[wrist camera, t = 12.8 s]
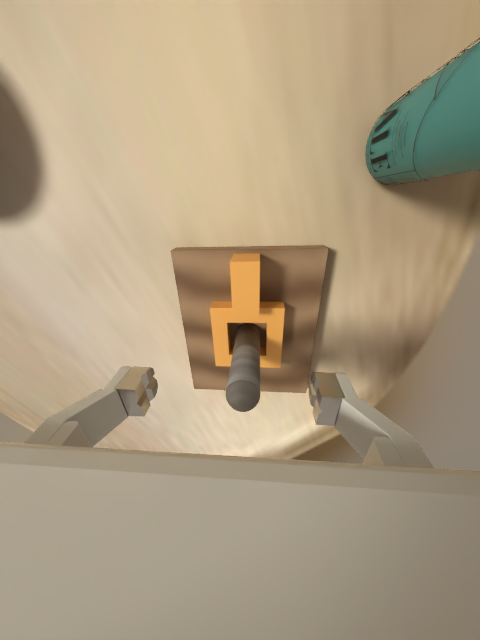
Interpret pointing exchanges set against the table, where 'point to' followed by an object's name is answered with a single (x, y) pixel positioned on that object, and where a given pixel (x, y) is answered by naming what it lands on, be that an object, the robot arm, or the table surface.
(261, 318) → the loop fitting
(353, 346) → the table surface
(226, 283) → the keeper board
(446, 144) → the beverage bottle
